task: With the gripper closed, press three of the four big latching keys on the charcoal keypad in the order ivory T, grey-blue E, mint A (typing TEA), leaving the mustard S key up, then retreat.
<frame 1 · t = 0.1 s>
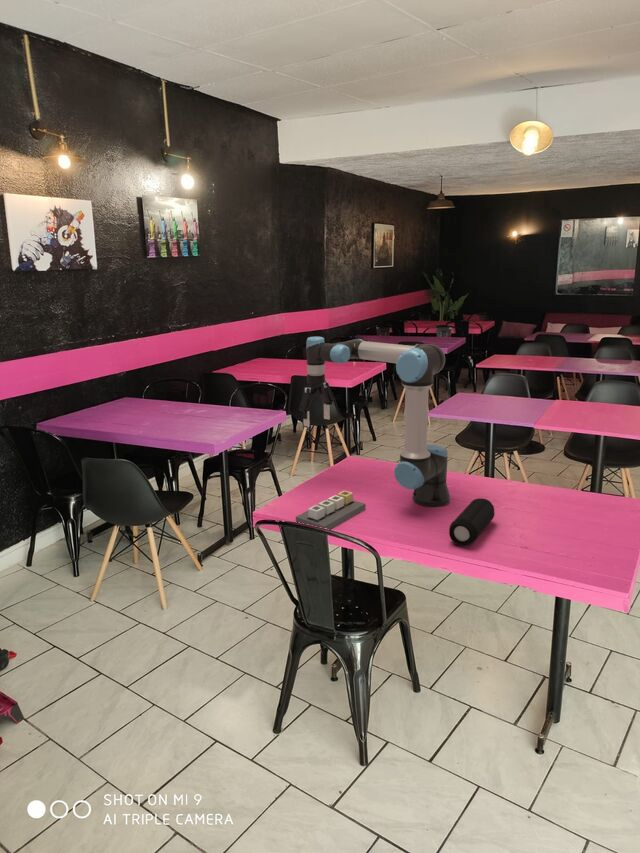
hand: (316, 422, 269), 28 cm above the table, fingers open, 13 cm apart
key E: (316, 512, 235), point 5 cm above the table, slide at 0.0 cm
key A: (326, 507, 240), point 5 cm above the table, slide at 0.0 cm
portable speaker: (471, 534, 227), on the table
keypad: (331, 516, 243), on the table
key T: (336, 502, 244), point 5 cm above the table, slide at 0.0 cm
key S: (345, 497, 248), point 5 cm above the table, slide at 0.0 cm
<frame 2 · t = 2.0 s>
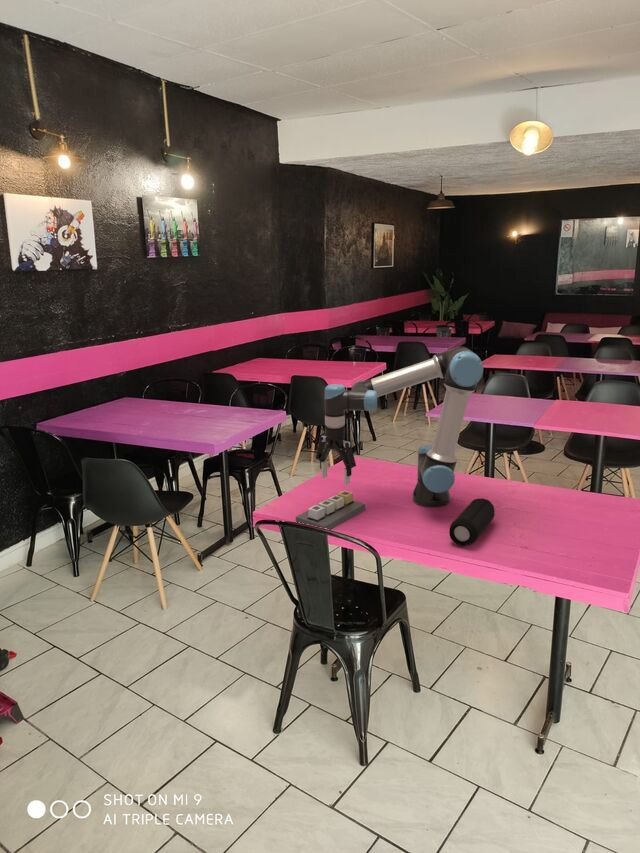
hand: (335, 480, 242), 14 cm above the table, fingers open, 10 cm apart
nothing on the table moved.
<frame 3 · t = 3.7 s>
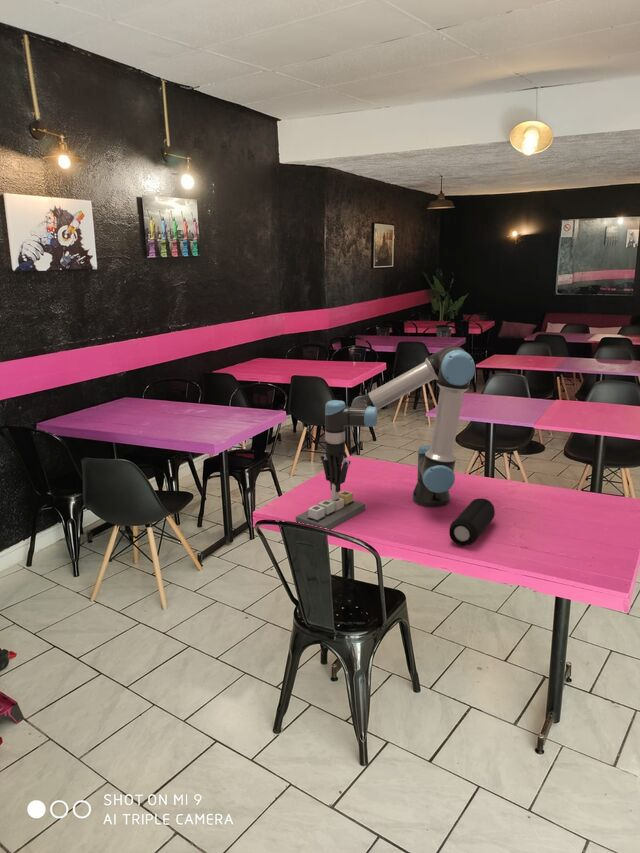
hand: (335, 498, 244), 6 cm above the table, fingers closed
key T: (336, 503, 244), point 4 cm above the table, slide at 0.6 cm, touching gripper
everything else where it was.
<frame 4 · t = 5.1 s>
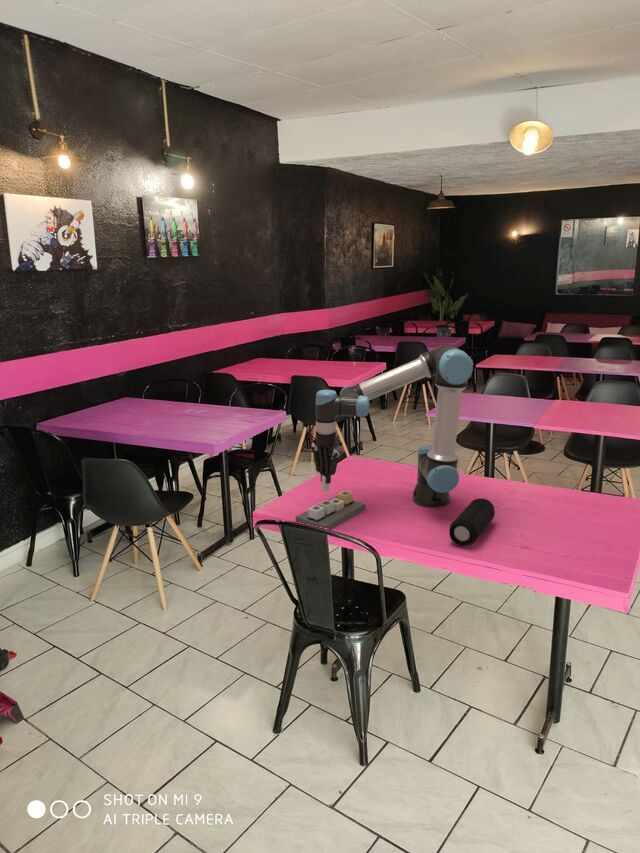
hand: (325, 490, 239), 11 cm above the table, fingers closed
key T: (336, 505, 244), point 3 cm above the table, slide at 1.4 cm
everything else where it was.
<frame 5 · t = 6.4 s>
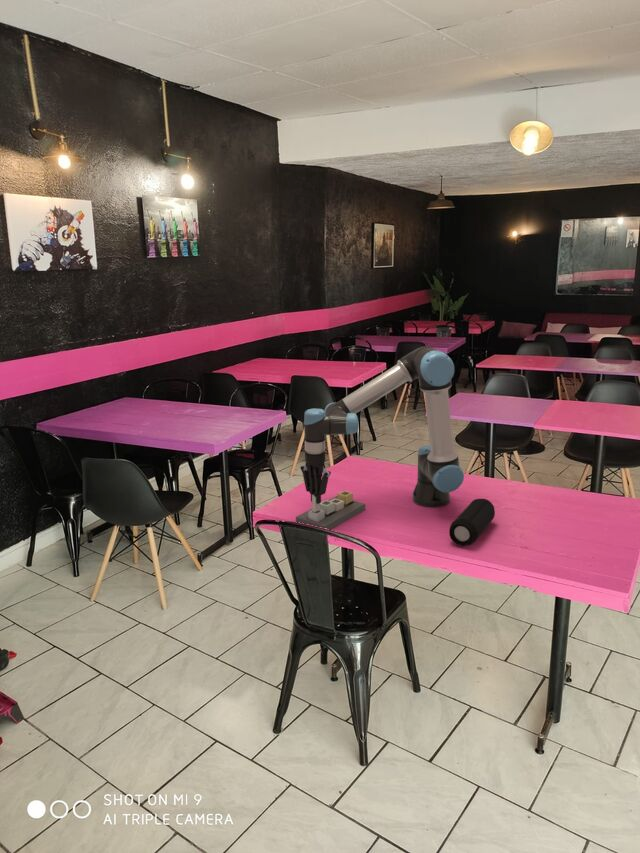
hand: (316, 510, 235), 6 cm above the table, fingers closed
key E: (316, 515, 236), point 4 cm above the table, slide at 1.3 cm, touching gripper
everything else where it was.
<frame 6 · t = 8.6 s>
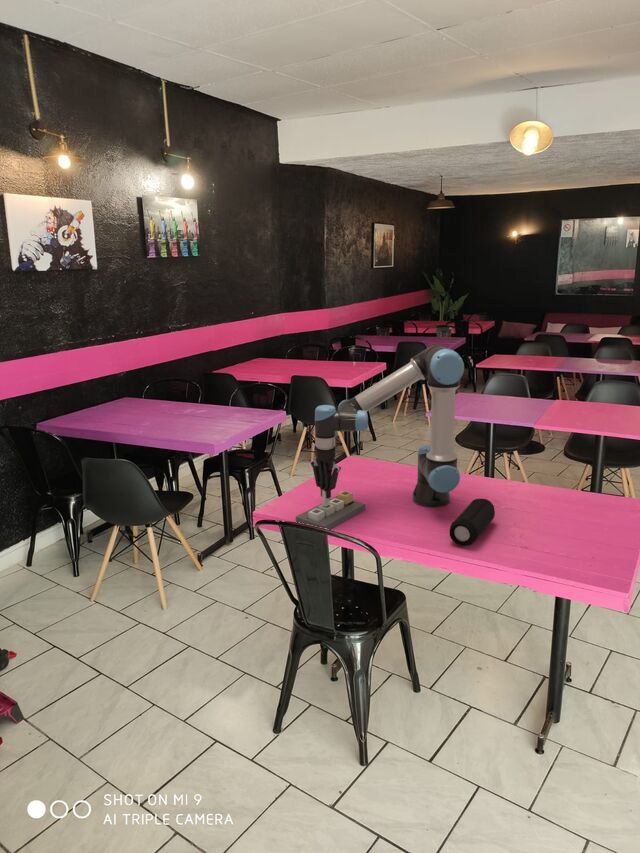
hand: (326, 505, 239), 6 cm above the table, fingers closed
key E: (316, 515, 236), point 3 cm above the table, slide at 1.4 cm
key A: (326, 509, 240), point 4 cm above the table, slide at 1.2 cm, touching gripper
everything else where it was.
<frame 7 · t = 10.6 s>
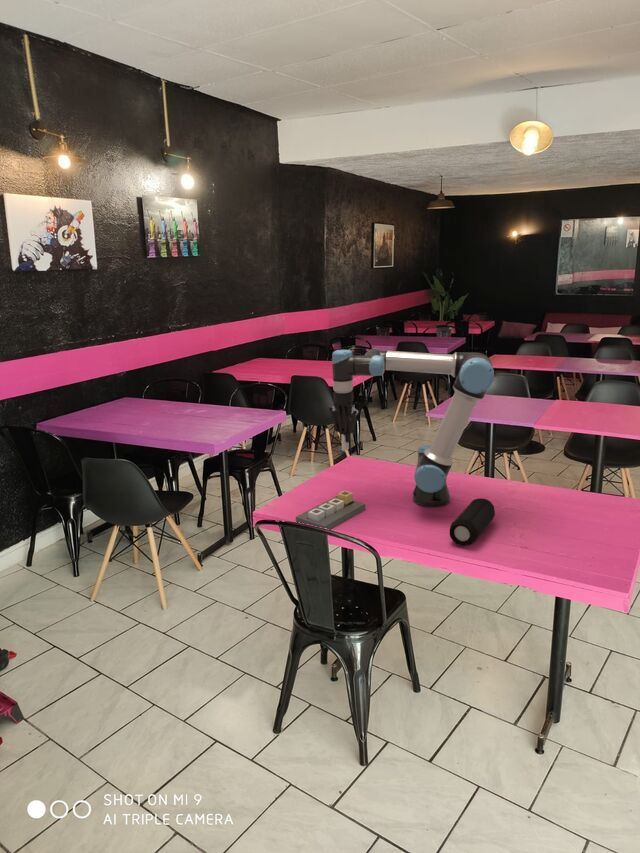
hand: (345, 449, 244), 24 cm above the table, fingers closed
key A: (326, 510, 240), point 3 cm above the table, slide at 1.4 cm
everything else where it was.
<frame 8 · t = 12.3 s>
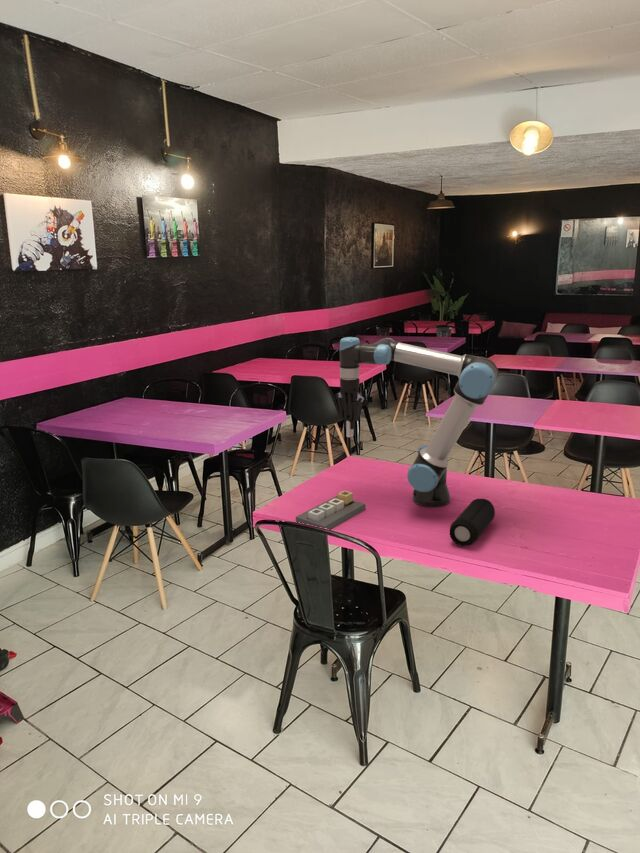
hand: (349, 436, 247), 28 cm above the table, fingers closed
nothing on the table moved.
at the end: key T slide at 1.4 cm; key E slide at 1.4 cm; key A slide at 1.4 cm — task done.
